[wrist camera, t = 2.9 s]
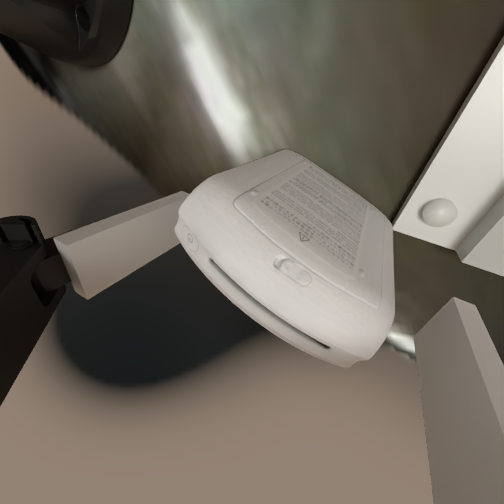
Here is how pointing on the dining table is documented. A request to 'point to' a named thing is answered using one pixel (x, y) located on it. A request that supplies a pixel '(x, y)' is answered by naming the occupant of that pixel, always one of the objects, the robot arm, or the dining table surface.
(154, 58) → the dining table surface
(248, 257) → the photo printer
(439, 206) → the dock plate
